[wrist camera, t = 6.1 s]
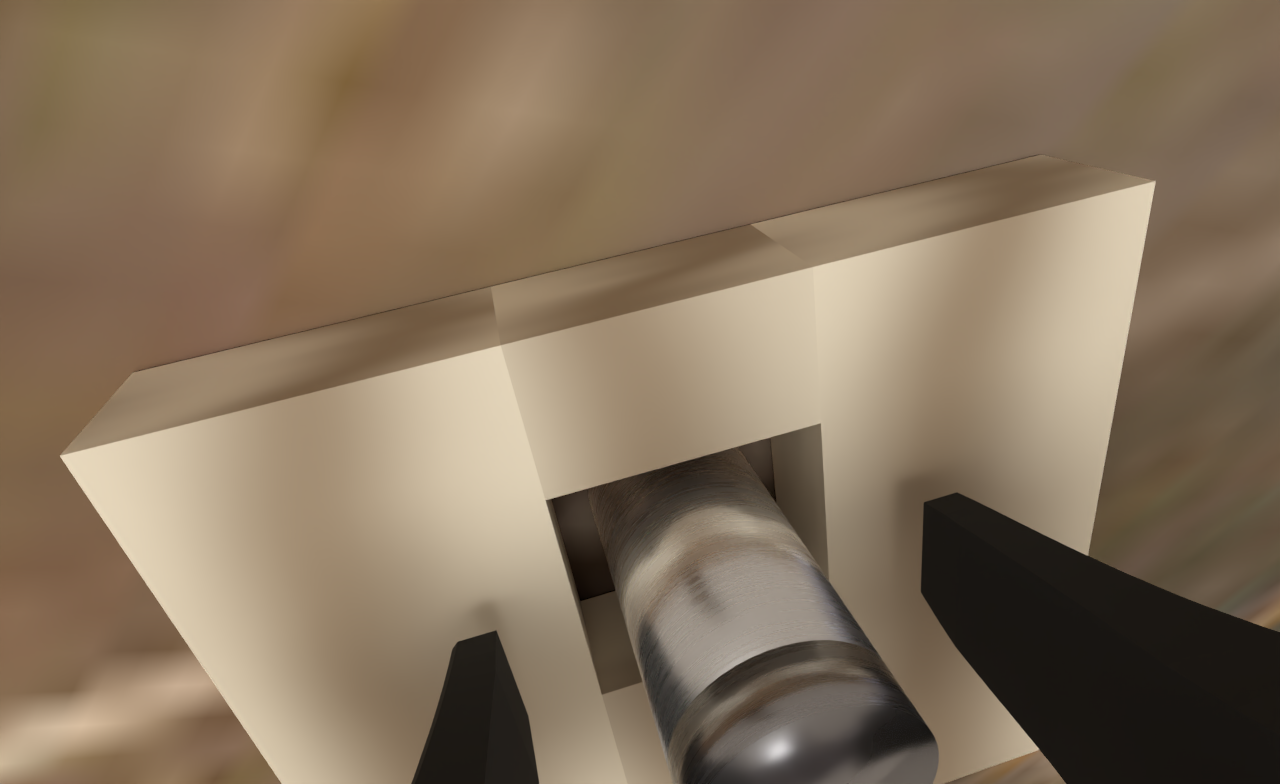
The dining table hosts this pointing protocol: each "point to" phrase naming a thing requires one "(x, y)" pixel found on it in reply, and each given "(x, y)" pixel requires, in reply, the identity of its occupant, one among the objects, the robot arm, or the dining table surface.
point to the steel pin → (749, 638)
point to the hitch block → (624, 460)
